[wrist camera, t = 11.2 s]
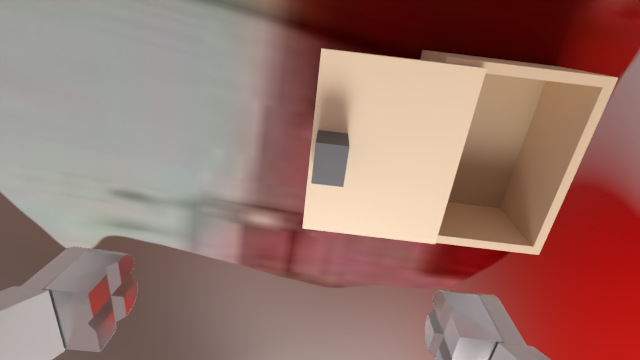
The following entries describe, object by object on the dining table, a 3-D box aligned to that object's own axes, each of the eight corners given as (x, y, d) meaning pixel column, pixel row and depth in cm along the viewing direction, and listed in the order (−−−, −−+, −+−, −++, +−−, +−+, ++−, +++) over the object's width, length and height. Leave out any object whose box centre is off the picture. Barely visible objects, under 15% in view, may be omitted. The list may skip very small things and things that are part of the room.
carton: (422, 49, 41) (446, 57, 32) (556, 65, 41) (618, 77, 32) (389, 199, 49) (401, 238, 40) (501, 212, 50) (538, 254, 40)
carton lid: (321, 48, 32) (319, 51, 28) (483, 67, 32) (506, 74, 28) (303, 224, 40) (298, 249, 35) (433, 240, 40) (445, 266, 36)
